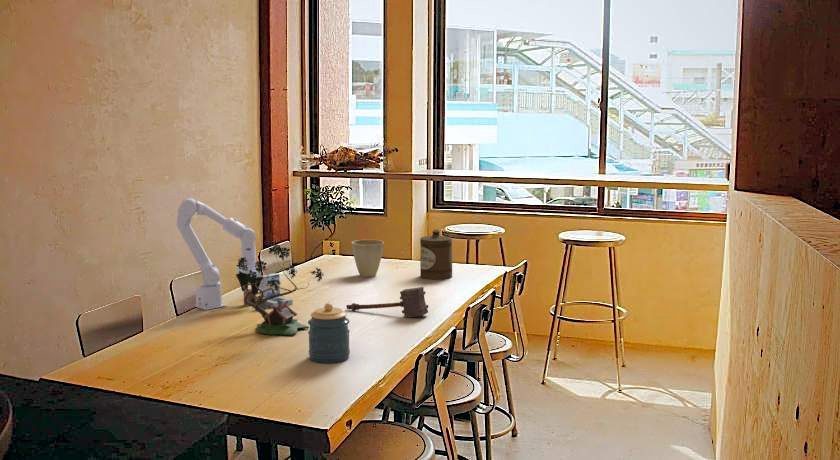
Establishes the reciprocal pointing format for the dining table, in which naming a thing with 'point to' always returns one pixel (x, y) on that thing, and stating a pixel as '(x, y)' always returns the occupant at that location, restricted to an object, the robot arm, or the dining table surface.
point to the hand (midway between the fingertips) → (249, 292)
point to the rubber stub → (263, 305)
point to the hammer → (402, 303)
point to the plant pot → (367, 256)
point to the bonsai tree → (282, 315)
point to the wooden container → (436, 256)
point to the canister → (328, 335)
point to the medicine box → (264, 283)
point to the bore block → (274, 301)
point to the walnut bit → (249, 297)
